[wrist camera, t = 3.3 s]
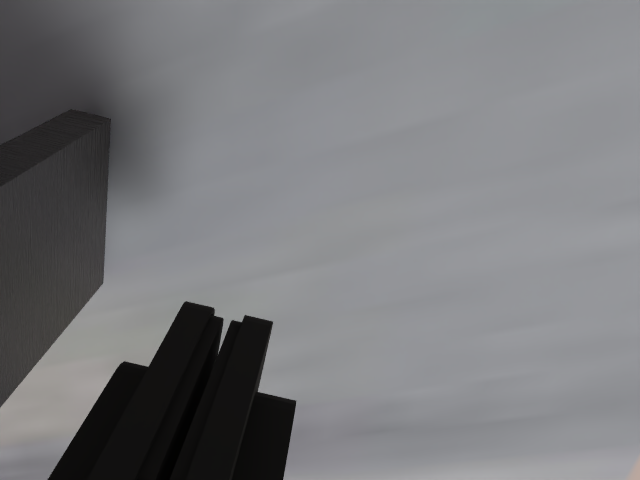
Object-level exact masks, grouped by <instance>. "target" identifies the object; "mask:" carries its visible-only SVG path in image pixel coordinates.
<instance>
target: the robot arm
mask: <svg viewBox="0 0 640 480" xmlns="http://www.w3.org/2000/svg"><path fill="white" fill-rule="evenodd" d="M214 313H215V309H214V308H212V307H208V306H204V305H199V304H195V303H191V302H184V304H183V305H182V307H181V309H180V311H179V312H178V314H177V316H176V318H175V320H174V322H173V323H172V325H171V327H170V329H169V331H168V332H167V334H166V336H165V338H164V340H163V342H162V343H161V345H160V347H159V349H158V351H157V353H156V354H155V356H154V358H153V360H152V362H151V364H150V365H149V367H146V366H142V365H138V364H133V363H129V362H125V361H124V362H123V363H121V364H120V365H119V367H118V368H117V369H116V371H115V372H114V374H113V376H112V377H111V379H110V380H109V382H108V384H107V385H106V387H105V388H104V390H103V392H102V393H101V395H100V396H99V398H98V400H97V401H96V403H95V404H94V406H93V408H92V409H91V411H90V413H89V414H88V416H87V417H86V419H85V421H84V422H83V424H82V425H81V427H80V429H79V430H78V432H77V433H76V435H75V437H74V438H73V440H72V441H71V443H70V445H69V446H68V448H67V449H66V451H65V453H64V454H63V456H62V457H61V459H60V461H59V462H58V464H57V466H56V467H55V469H54V470H53V472H52V474H51V475H50V477H49V478H48V480H283V477H284V471H285V465H286V460H287V454H288V448H289V442H290V436H291V431H292V425H293V419H294V413H295V407H296V401H295V400H290V399H286V398H282V397H277V396H273V395H268V394H264V393H260V392H258V388H259V383H260V379H261V374H262V370H263V365H264V361H265V356H266V352H267V348H268V343H269V339H270V334H271V330H272V325H273V322H272V321H268V320H264V319H259V318H255V317H251V316H247V315H245V316H244V319H243V321H242V322H238V321H234V320H232V321H231V323H230V326H229V328H228V331H227V333H226V336H225V339H224V341H223V344H222V346H221V349H220V351H219V345H220V339H221V333H222V327H223V318H221V317H216V316H214ZM218 351H219V354H218Z"/></svg>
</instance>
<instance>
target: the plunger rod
mask: <svg viewBox="0 0 640 480" xmlns="http://www.w3.org/2000/svg"><path fill="white" fill-rule="evenodd" d="M110 124H111V119H109V118H105V117H101V116H97V115H93V114H89V113H85V112H80V111H76V110H72V109H71V110H69V111H67V112H65V113H63V114H61V115H59V116H57V117H55V118H53V119H51V120H49V121H47V122H45V123H43V124H41V125H39V126H37V127H36V128H34V129H32V130H30V131H28V132H26V133H24V134H22V135H20V136H18V137H16V138H14V139H12V140H10V141H8V142H6V143H4V144H2V145H0V407H1V406H2V405H3V404H4V402H5V401H6V400H7V399H8V398H9V396H10V395H11V394H12V393H13V391H14V390H15V389H16V388H17V387H18V385H19V384H20V383H21V382H22V381H23V379H24V378H25V377H26V376H27V375H28V373H29V372H30V371H31V370H32V369H33V367H34V366H35V365H36V364H37V362H38V361H39V360H40V359H41V358H42V356H43V355H44V354H45V353H46V352H47V350H48V349H49V348H50V347H51V346H52V344H53V343H54V342H55V341H56V340H57V338H58V337H59V336H60V335H61V334H62V332H63V331H64V330H65V329H66V327H67V326H68V325H69V324H70V323H71V321H72V320H73V319H74V318H75V317H76V315H77V314H78V313H79V312H80V311H81V309H82V308H83V307H84V306H85V305H86V303H87V302H88V301H89V300H90V298H91V297H92V296H93V295H94V294H95V292H96V291H97V290H98V289H99V288H100V286H101V285H102V284H103V278H104V256H105V234H106V212H107V190H108V168H109V146H110Z"/></svg>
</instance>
